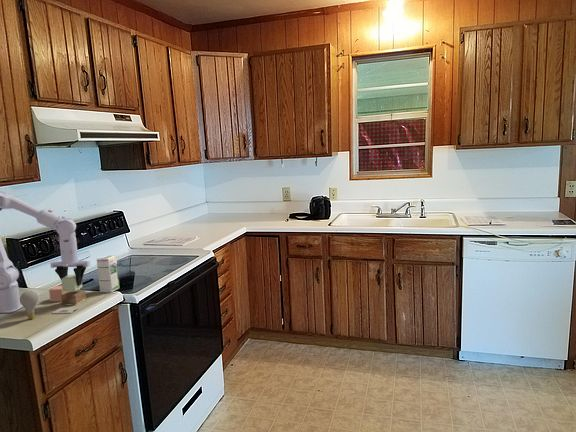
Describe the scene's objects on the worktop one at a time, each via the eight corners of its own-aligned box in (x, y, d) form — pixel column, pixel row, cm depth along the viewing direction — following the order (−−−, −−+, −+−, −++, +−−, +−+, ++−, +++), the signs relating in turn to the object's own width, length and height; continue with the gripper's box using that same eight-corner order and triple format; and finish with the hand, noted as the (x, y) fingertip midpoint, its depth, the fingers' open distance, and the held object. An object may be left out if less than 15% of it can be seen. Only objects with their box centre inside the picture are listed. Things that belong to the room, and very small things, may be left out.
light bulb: (18, 321, 144) (14, 293, 143) (30, 315, 149) (27, 288, 148) (32, 321, 143) (29, 293, 142) (44, 316, 148) (41, 288, 147)
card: (52, 313, 150) (52, 312, 150) (60, 309, 155) (60, 307, 155) (71, 313, 150) (71, 312, 150) (78, 308, 155) (78, 307, 155)
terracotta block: (50, 301, 165) (49, 289, 164) (57, 297, 170) (56, 285, 169) (62, 301, 164) (61, 289, 164) (69, 297, 169) (68, 285, 169)
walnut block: (62, 305, 160) (61, 295, 160) (72, 300, 166) (71, 290, 166) (76, 305, 159) (75, 295, 159) (86, 300, 165) (85, 290, 165)
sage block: (62, 291, 160) (61, 278, 159) (70, 287, 165) (68, 275, 164) (75, 291, 159) (74, 278, 159) (82, 287, 164) (81, 274, 164)
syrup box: (112, 292, 174) (109, 258, 172) (99, 292, 175) (96, 258, 173) (120, 288, 180) (117, 255, 178) (107, 288, 181) (104, 255, 179)
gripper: (44, 253, 157) (47, 288, 158) (81, 252, 156) (85, 287, 158) (55, 249, 164) (58, 283, 165) (91, 248, 163) (94, 282, 165)
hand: (72, 285), depth 162 cm, fingers closed on sage block, 5 cm apart
